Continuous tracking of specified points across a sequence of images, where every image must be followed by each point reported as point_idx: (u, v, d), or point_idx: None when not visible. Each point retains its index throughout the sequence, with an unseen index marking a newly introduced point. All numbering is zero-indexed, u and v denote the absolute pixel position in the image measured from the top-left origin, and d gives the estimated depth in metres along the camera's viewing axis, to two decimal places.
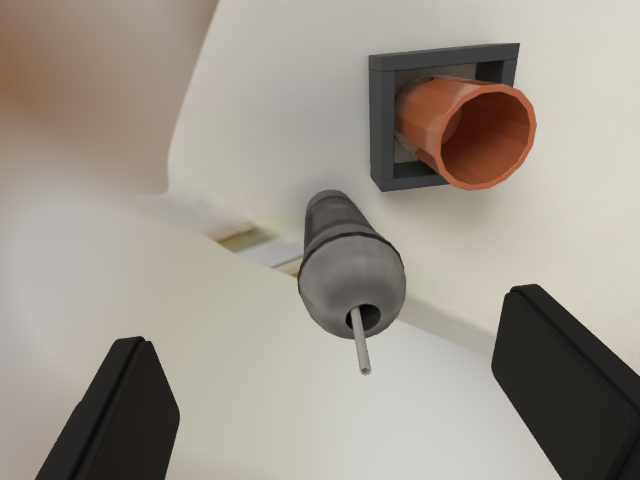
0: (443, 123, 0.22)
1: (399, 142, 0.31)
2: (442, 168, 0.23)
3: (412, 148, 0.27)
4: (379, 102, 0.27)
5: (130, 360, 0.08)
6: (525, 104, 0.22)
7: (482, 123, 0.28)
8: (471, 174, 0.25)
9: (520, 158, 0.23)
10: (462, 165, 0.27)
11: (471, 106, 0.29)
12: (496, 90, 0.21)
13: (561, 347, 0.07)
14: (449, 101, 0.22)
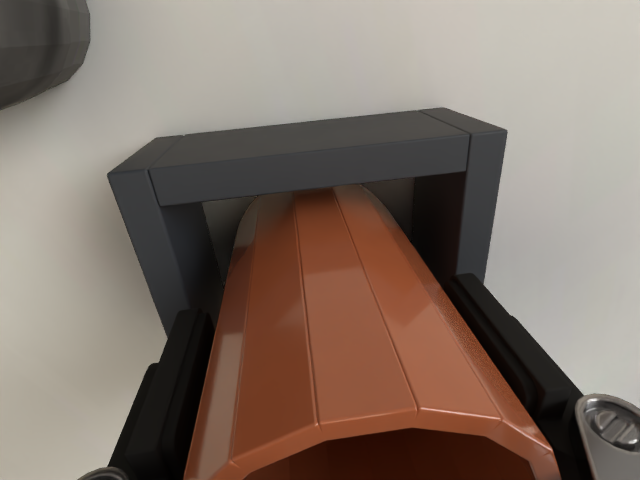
0: (469, 422, 0.05)
1: (258, 202, 0.12)
2: (258, 462, 0.05)
3: (269, 252, 0.09)
4: (382, 138, 0.10)
5: (195, 328, 0.09)
6: None
7: None
8: None
9: None
10: None
11: None
12: None
13: (482, 328, 0.08)
14: (503, 389, 0.06)
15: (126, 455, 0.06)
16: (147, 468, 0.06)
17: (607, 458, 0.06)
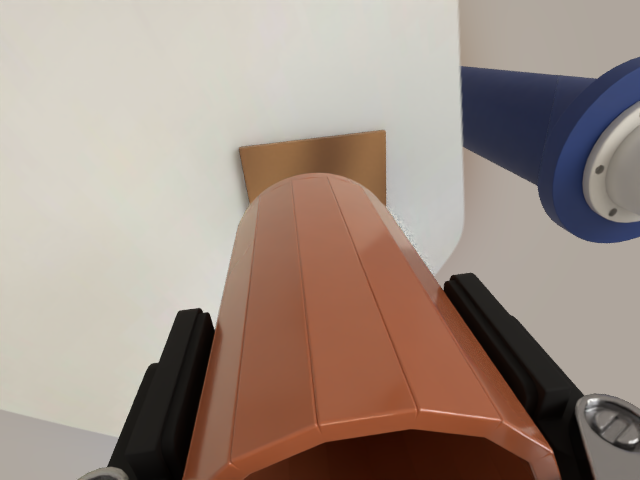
0: (469, 422, 0.05)
1: (258, 202, 0.12)
2: (257, 464, 0.05)
3: (269, 253, 0.09)
4: None
5: (195, 328, 0.09)
6: None
7: None
8: None
9: None
10: None
11: None
12: None
13: (482, 328, 0.08)
14: (503, 390, 0.06)
15: (126, 455, 0.06)
16: (147, 468, 0.06)
17: (607, 458, 0.06)
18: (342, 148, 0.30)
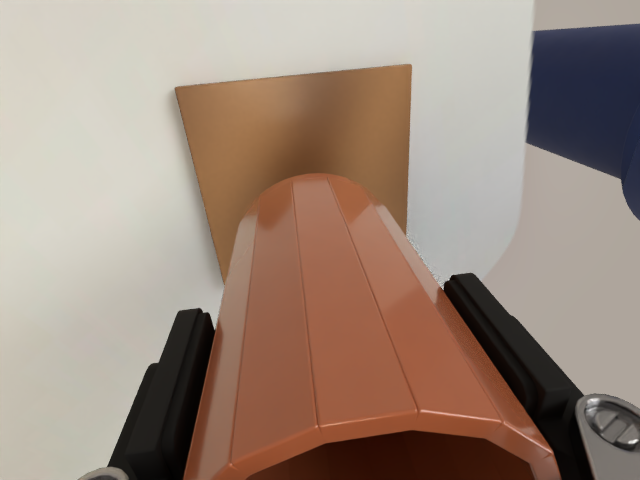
0: (471, 424, 0.05)
1: (258, 203, 0.12)
2: (257, 465, 0.05)
3: (269, 253, 0.09)
4: None
5: (195, 328, 0.09)
6: None
7: None
8: None
9: None
10: None
11: None
12: None
13: (482, 328, 0.08)
14: (503, 390, 0.06)
15: (126, 455, 0.06)
16: (147, 468, 0.06)
17: (607, 458, 0.06)
18: (342, 92, 0.19)
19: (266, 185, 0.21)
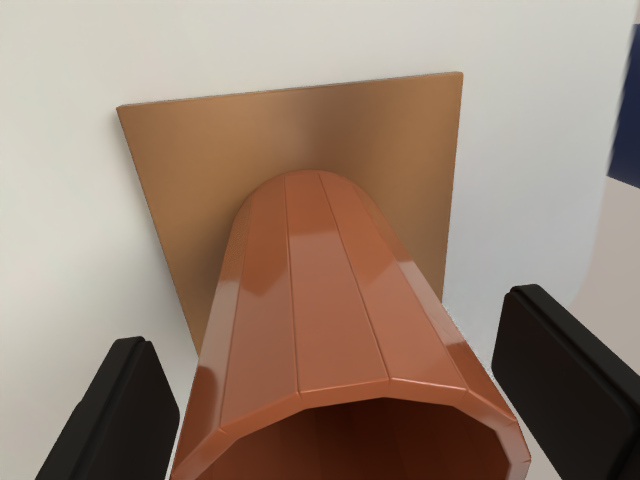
0: (438, 392, 0.05)
1: (252, 198, 0.13)
2: (244, 429, 0.05)
3: (260, 244, 0.09)
4: None
5: (130, 360, 0.08)
6: None
7: None
8: None
9: None
10: None
11: None
12: None
13: (561, 347, 0.07)
14: (474, 366, 0.06)
15: None
16: None
17: None
18: (363, 113, 0.13)
19: None
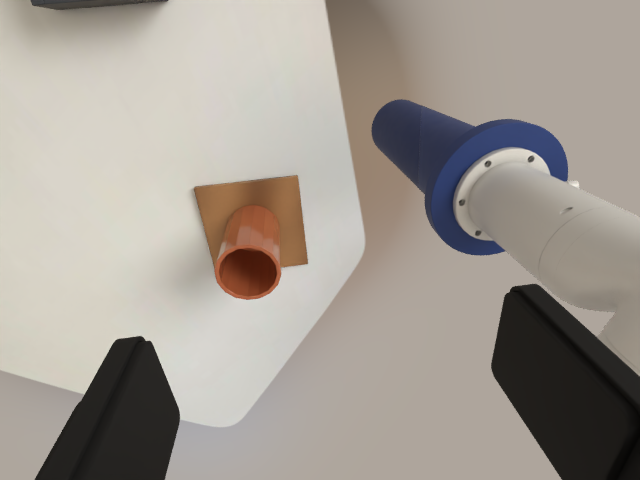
0: (257, 247, 0.35)
1: (233, 214, 0.42)
2: (228, 252, 0.35)
3: (233, 227, 0.39)
4: None
5: (130, 360, 0.08)
6: (270, 288, 0.37)
7: (253, 266, 0.42)
8: (223, 269, 0.38)
9: (238, 295, 0.37)
10: (226, 261, 0.39)
11: (262, 257, 0.44)
12: (277, 271, 0.36)
13: (561, 347, 0.07)
14: (269, 247, 0.36)
15: None
16: None
17: None
18: (267, 188, 0.43)
19: None
